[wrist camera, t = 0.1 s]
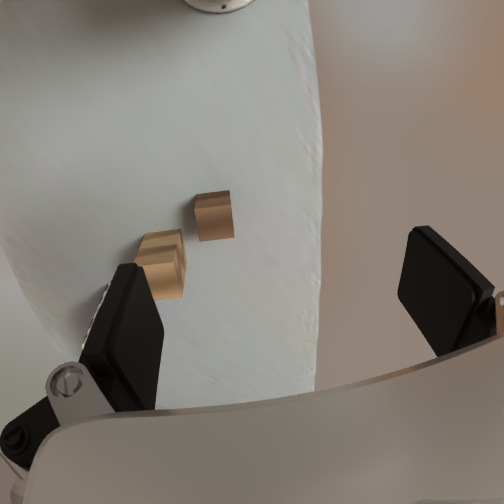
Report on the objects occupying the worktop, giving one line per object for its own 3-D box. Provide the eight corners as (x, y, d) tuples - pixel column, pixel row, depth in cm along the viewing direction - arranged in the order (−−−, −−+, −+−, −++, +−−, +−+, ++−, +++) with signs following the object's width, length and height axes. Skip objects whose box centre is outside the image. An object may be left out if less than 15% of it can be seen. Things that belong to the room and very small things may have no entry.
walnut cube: (196, 194, 46) (194, 209, 41) (229, 190, 46) (230, 204, 41) (201, 223, 49) (199, 241, 44) (232, 219, 49) (234, 237, 44)
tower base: (145, 233, 49) (139, 248, 44) (180, 229, 49) (177, 244, 45) (153, 264, 52) (148, 281, 47) (187, 260, 52) (184, 277, 48)
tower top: (139, 248, 44) (131, 266, 40) (177, 244, 45) (173, 262, 40) (148, 281, 47) (143, 300, 43) (184, 277, 48) (182, 297, 43)
